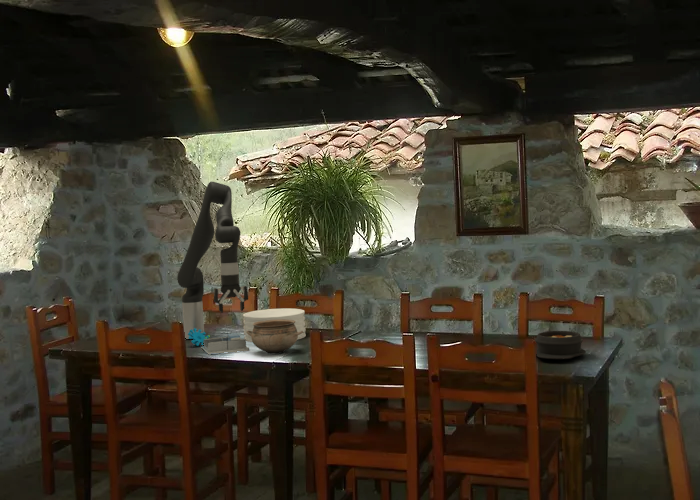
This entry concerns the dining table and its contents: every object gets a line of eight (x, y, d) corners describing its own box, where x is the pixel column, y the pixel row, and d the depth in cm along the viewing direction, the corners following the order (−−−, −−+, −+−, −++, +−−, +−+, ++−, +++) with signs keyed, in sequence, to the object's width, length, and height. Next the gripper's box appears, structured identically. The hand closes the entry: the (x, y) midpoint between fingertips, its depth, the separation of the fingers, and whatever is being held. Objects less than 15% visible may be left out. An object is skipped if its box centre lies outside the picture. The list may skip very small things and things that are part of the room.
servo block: (226, 344, 332) (226, 332, 332) (235, 343, 334) (235, 331, 333) (231, 348, 322) (231, 336, 322) (241, 347, 323) (240, 335, 323)
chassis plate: (201, 349, 330) (200, 338, 330) (240, 345, 336) (239, 334, 336) (208, 355, 315) (208, 344, 315) (249, 350, 321) (248, 339, 321)
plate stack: (267, 345, 332) (266, 319, 332) (232, 339, 354) (231, 314, 353) (318, 336, 351) (316, 311, 350) (281, 330, 372) (280, 306, 371)
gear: (193, 345, 332) (185, 327, 338) (188, 353, 335) (180, 336, 340) (215, 344, 340) (207, 327, 345) (209, 353, 343) (201, 335, 348)
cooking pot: (312, 348, 320) (311, 319, 319) (294, 357, 302) (293, 326, 301) (258, 347, 328) (256, 319, 327) (237, 356, 310) (235, 326, 309)
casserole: (580, 365, 264) (579, 341, 264) (526, 362, 273) (525, 339, 272) (591, 351, 287) (590, 328, 287) (540, 349, 295) (539, 327, 295)
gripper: (244, 271, 331) (246, 309, 332) (211, 274, 326) (213, 312, 327) (248, 272, 324) (250, 311, 325) (214, 275, 319) (216, 314, 320)
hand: (231, 311), depth 326 cm, fingers open, 8 cm apart
